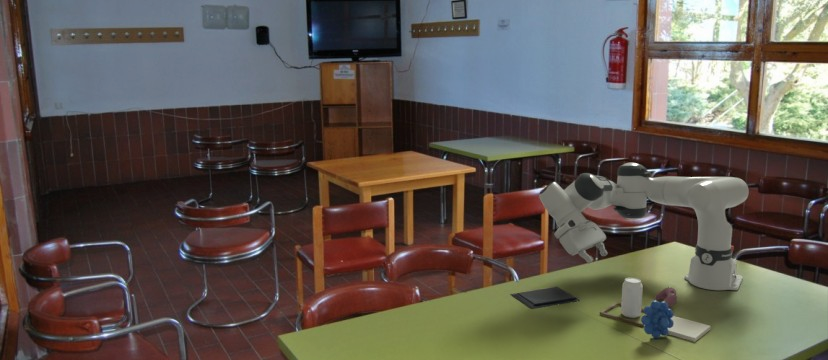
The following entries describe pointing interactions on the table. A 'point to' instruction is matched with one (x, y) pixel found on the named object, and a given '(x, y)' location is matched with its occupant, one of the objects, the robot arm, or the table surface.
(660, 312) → the grapes
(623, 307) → the beverage can
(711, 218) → the robot arm
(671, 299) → the video game controller
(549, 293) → the dark grey flat block
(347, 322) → the table surface
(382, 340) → the table surface
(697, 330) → the brown bars cream slab
